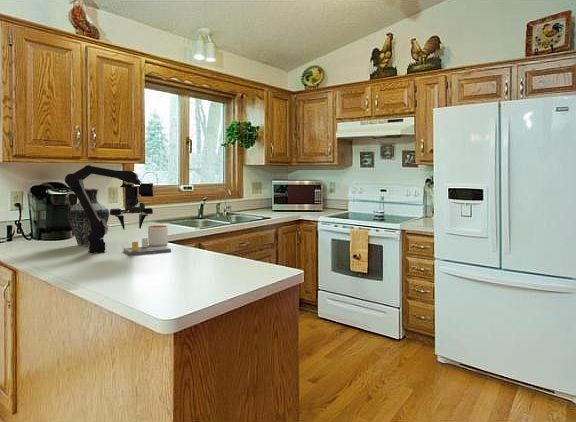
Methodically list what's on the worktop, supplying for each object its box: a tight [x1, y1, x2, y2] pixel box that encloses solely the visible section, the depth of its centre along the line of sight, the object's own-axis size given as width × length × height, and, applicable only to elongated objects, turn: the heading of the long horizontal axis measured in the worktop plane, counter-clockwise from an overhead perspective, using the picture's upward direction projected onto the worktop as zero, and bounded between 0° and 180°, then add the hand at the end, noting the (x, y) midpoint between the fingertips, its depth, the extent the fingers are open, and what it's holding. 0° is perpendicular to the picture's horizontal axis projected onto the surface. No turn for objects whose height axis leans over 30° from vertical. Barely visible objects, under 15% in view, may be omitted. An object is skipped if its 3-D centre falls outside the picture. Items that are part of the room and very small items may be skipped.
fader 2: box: [141, 237, 149, 247], centre depth 196 cm, size 2×2×4 cm
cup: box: [147, 225, 169, 246], centre depth 212 cm, size 10×10×10 cm
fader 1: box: [131, 240, 139, 251], centre depth 186 cm, size 2×2×4 cm
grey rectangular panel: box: [123, 245, 172, 257], centre depth 193 cm, size 19×13×2 cm
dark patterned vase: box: [64, 187, 110, 247], centre depth 208 cm, size 21×19×30 cm
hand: (131, 229), depth 193 cm, fingers open, 7 cm apart
